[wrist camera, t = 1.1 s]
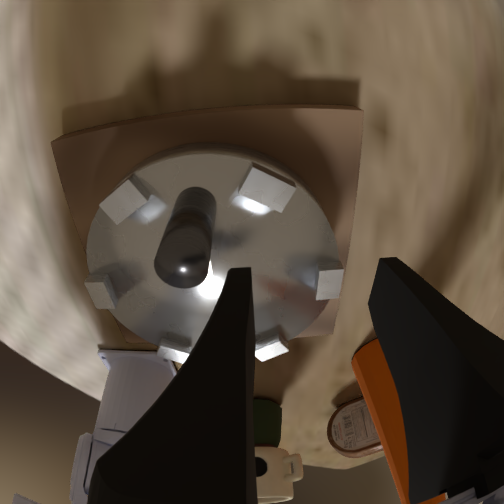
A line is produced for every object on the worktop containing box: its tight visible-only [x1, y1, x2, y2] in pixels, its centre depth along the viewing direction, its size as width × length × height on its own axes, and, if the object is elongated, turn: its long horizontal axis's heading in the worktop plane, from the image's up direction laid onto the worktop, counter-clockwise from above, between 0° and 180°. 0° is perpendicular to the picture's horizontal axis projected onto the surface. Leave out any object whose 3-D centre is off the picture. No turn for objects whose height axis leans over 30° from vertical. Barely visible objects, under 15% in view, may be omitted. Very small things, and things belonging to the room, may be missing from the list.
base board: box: [51, 104, 364, 343], centre depth 20 cm, size 18×18×2 cm
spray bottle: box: [351, 338, 446, 504], centre depth 19 cm, size 7×11×26 cm, turn 33°
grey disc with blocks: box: [84, 142, 344, 364], centre depth 17 cm, size 15×15×7 cm
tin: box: [327, 396, 383, 458], centre depth 33 cm, size 15×3×8 cm, turn 121°
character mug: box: [253, 399, 303, 504], centre depth 30 cm, size 11×7×13 cm, turn 128°
